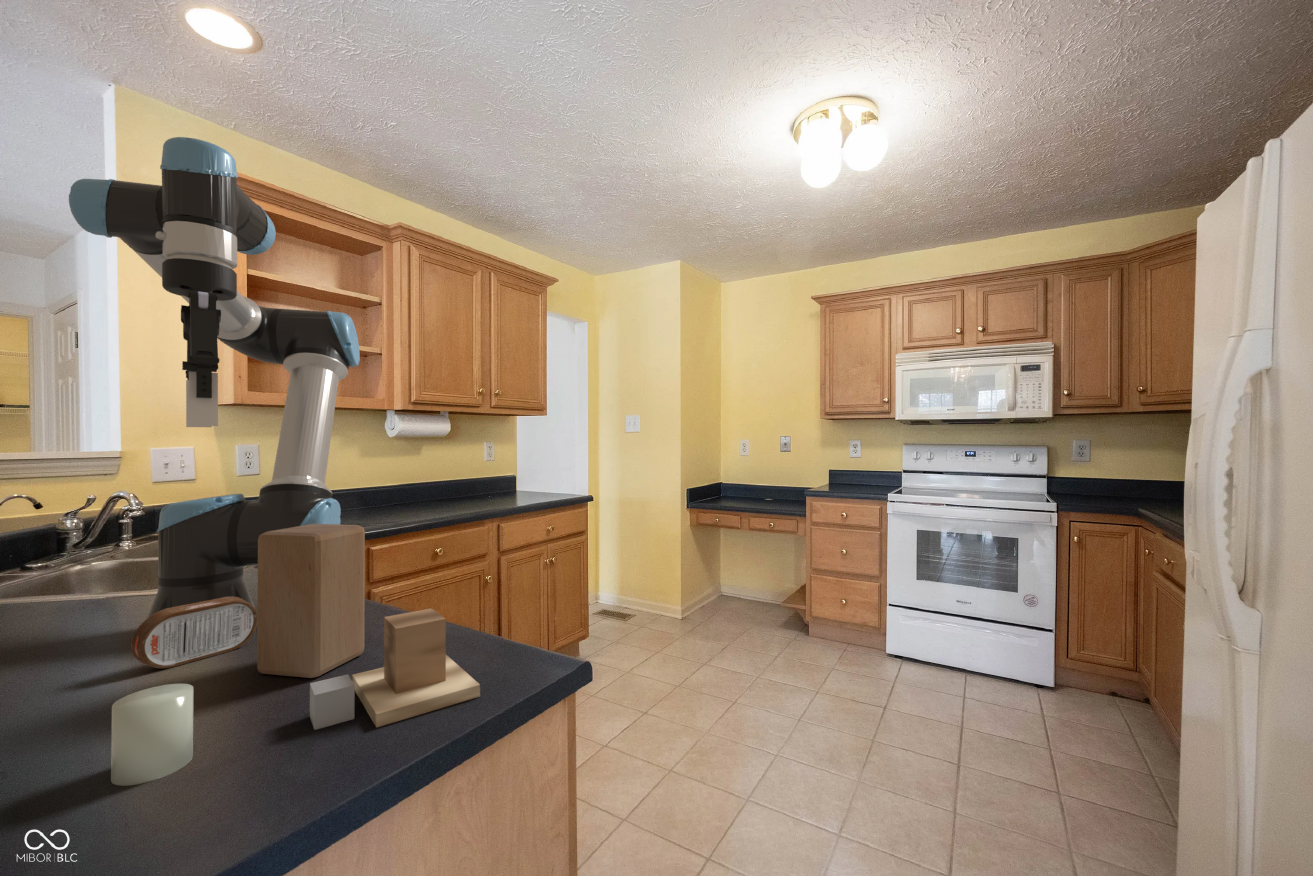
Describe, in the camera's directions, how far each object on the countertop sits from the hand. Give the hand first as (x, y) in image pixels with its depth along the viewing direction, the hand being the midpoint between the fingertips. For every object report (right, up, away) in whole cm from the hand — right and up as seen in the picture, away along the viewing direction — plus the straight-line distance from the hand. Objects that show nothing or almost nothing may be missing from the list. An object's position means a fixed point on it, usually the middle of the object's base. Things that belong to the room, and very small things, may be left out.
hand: (201, 426), depth 71 cm
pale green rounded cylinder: (+9, -34, -17) cm, 40 cm away
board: (+28, -35, -1) cm, 45 cm away
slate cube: (+21, -35, -7) cm, 41 cm away
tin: (-10, -35, +11) cm, 38 cm away
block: (+9, -35, +9) cm, 37 cm away
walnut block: (+28, -33, 0) cm, 43 cm away
